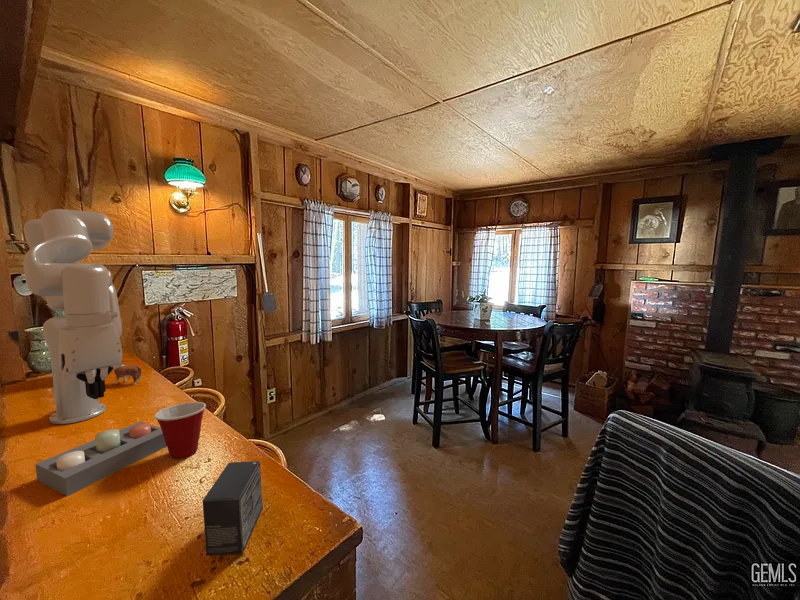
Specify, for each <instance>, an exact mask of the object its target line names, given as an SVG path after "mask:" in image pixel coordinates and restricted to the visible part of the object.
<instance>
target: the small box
mask: <svg viewBox="0 0 800 600" xmlns="http://www.w3.org/2000/svg"><path fill="white" fill-rule="evenodd" d="M262 494H263V493H262V473H261V460H253V461H251V460H250V461H249V460H248V461H231V462H228V463H227V465H226V466H225V468H224V469H223V471H222V472H221V473H220V475H219V476H218V477H217V479H216V481H215V482H214V483H213V485H212V486H211V487H210V489H209V490H208V492H207V493H206V495H205V496H203V497H204V498H203V499H202V512H203V524H204V525H203V526H204V538H205V539H204V540H205V552H206V553H205V554H206V557H207V556H229V555H228V554H230V555H242V554H243V553H244V552H245V550H246V549H247V546H248V543H249V540H250V539H251V536H252V534H253V532H254V529H255V527H256V525H257V523H258V520H259V518H260V516H261V514H262V510H263V509H264V506H263V505H264V504H263V497H262V496H263V495H262ZM241 553H242V554H241Z"/></svg>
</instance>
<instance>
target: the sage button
mask: <svg viewBox="0 0 800 600" xmlns="http://www.w3.org/2000/svg"><path fill="white" fill-rule="evenodd" d="M119 430H120V429H116V428H114V429H108V430H107V429H106V430H103V431H101V432H99V433H97V434H96V435H95V437H94V438H95V439H94V440H95V442H96V452H97V453H100V454H103V453H106V452H108V451H110V450H112V449H115V448H117V447H119V446H121V444H120V433H119Z"/></svg>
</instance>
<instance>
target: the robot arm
mask: <svg viewBox="0 0 800 600" xmlns="http://www.w3.org/2000/svg"><path fill="white" fill-rule="evenodd" d="M23 233H24V237H25V241H26V244H27V246H28V247H29V250H28V251H27V252H26V254H25V255H24V259H23V272H24V279H25V283H26V286H27V289H28V290H29V291H30V292H31V293H32V294H34V295H35V296H38V297H45V300H46V304H47V306H48V307H49V309H51V310H53V311H59V312H64V315H58V316H54V317H51V318H49V319H47V320H45V322H43V325H42V333H43V334H42V335H43V337H44V340H45V344H46V346H47V350H48V354H49V360H50V368H51V377H52V383H53V391H54V393H53V394H54V403H55V412H54V413H53V414H51V415H50V416H49V423H51V424H53V425H67V424H68V425H69V424H73V423H78V422H83V421H86V420H90V419H92V418H95V417H98V416H99V415H101V414H102V413H103V412H105V411H106V410H107V406H106V404H105V403H102V402H100V401H99V400H100V399H99V398H101V399H102V398H105V392H106V380H107V379H108V376H109V375H110V374H111V373H112V371H114V369H116V368H119V367H121V366H122V365H123V364H122V362H123V361H122V360H123V350H122V343H121V339H120V337H121V336H122V333H123V332H122V331H123V327H122V326H123V325H122V320H121V313H120V306H119V301H118V294H117V291H116V290H117V289H116V287H115V285H114V283H113V277H112V273H111V271H110V270H109V269H107V267H106V266H104V265H103V264H101V263H100V264H99V263H80V262H79V261H82V260H84V259H86V258H87V257H89V256H90V255H91V253H92V251H93V250H103V249H105V248H106V247H107V246H108V245H109V243H111V242H112V241H113V237H114V226H113V223H112V221H111V220H110V217H108V216H107V215H106V214H103V213H100V212H95V211H87V210H85V211H84V210H75V209H74V210H73V209H64V208H56V209H50V210H48V211H46V212H44V213H43V214H42V215H41V217H40V218H36V219H31V220H28V221H26V222H25V223H24V225H23Z"/></svg>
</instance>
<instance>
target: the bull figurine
mask: <svg viewBox="0 0 800 600" xmlns="http://www.w3.org/2000/svg"><path fill="white" fill-rule="evenodd" d="M121 362H122V366H121V367H119V368H116V369H114V370H113V372H114V375H115V377H116V378H115V382H114V385H117V384H119V380H120V378H123V383H127V381H128V380H127V378H128V379H131V377H132V379H133V383H132V386H136V385H137V382H139V381H140V380H141V378H142V367H141V366H139V365H126V364H124V362H123V361H121Z"/></svg>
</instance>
